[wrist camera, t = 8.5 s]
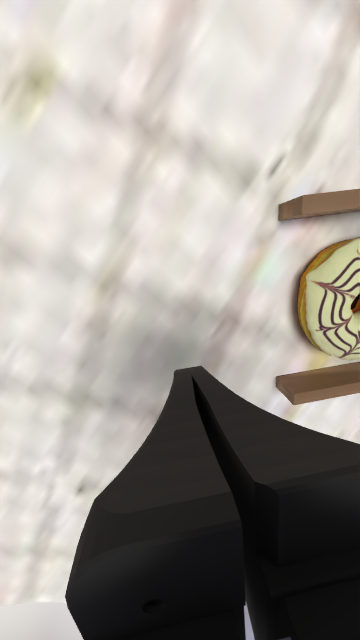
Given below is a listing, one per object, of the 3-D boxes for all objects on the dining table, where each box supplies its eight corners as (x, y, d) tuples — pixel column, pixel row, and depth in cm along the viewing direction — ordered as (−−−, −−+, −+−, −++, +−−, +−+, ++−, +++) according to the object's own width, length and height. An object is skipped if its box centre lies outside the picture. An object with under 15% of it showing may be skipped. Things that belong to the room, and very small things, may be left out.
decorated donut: (377, 214, 19) (429, 204, 16) (398, 314, 22) (445, 326, 19) (272, 273, 20) (299, 277, 16) (308, 363, 23) (337, 384, 19)
